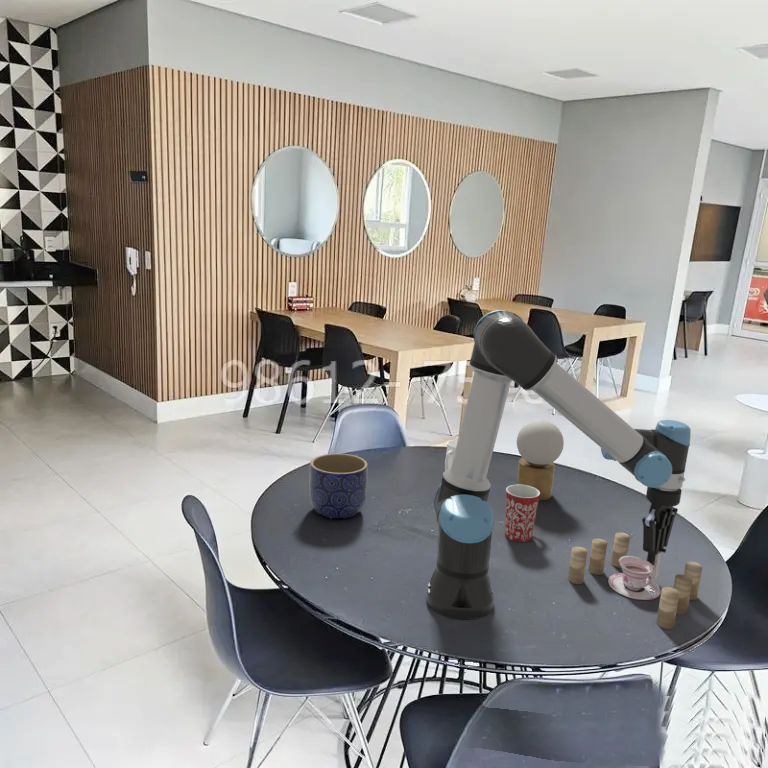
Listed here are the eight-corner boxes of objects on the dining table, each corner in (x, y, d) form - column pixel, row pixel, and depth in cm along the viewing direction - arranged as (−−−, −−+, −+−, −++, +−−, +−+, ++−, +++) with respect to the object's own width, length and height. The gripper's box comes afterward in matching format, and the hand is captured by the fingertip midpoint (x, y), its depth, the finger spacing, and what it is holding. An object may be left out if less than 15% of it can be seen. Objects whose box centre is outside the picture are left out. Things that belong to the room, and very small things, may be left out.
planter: (374, 520, 195) (376, 470, 192) (317, 527, 189) (319, 476, 186) (354, 497, 210) (356, 451, 207) (301, 503, 204) (303, 455, 201)
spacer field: (668, 631, 149) (674, 597, 147) (565, 579, 168) (568, 549, 166) (710, 601, 162) (715, 570, 160) (609, 556, 181) (613, 528, 179)
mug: (522, 547, 184) (527, 500, 180) (495, 535, 190) (499, 489, 187) (548, 533, 192) (553, 488, 189) (521, 522, 199) (526, 478, 195)
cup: (474, 471, 236) (476, 443, 234) (454, 481, 227) (457, 452, 224) (453, 465, 241) (455, 438, 239) (434, 474, 232) (436, 445, 229)
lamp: (558, 508, 210) (568, 429, 204) (511, 503, 212) (519, 425, 206) (554, 489, 224) (563, 415, 218) (510, 484, 226) (518, 411, 220)
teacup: (597, 579, 169) (600, 556, 168) (635, 571, 174) (639, 549, 172) (631, 604, 159) (635, 580, 157) (671, 596, 163) (675, 572, 162)
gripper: (666, 497, 156) (651, 590, 162) (693, 484, 165) (678, 573, 170) (636, 486, 162) (622, 577, 167) (663, 474, 170) (649, 561, 176)
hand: (650, 575), depth 169 cm, fingers closed
